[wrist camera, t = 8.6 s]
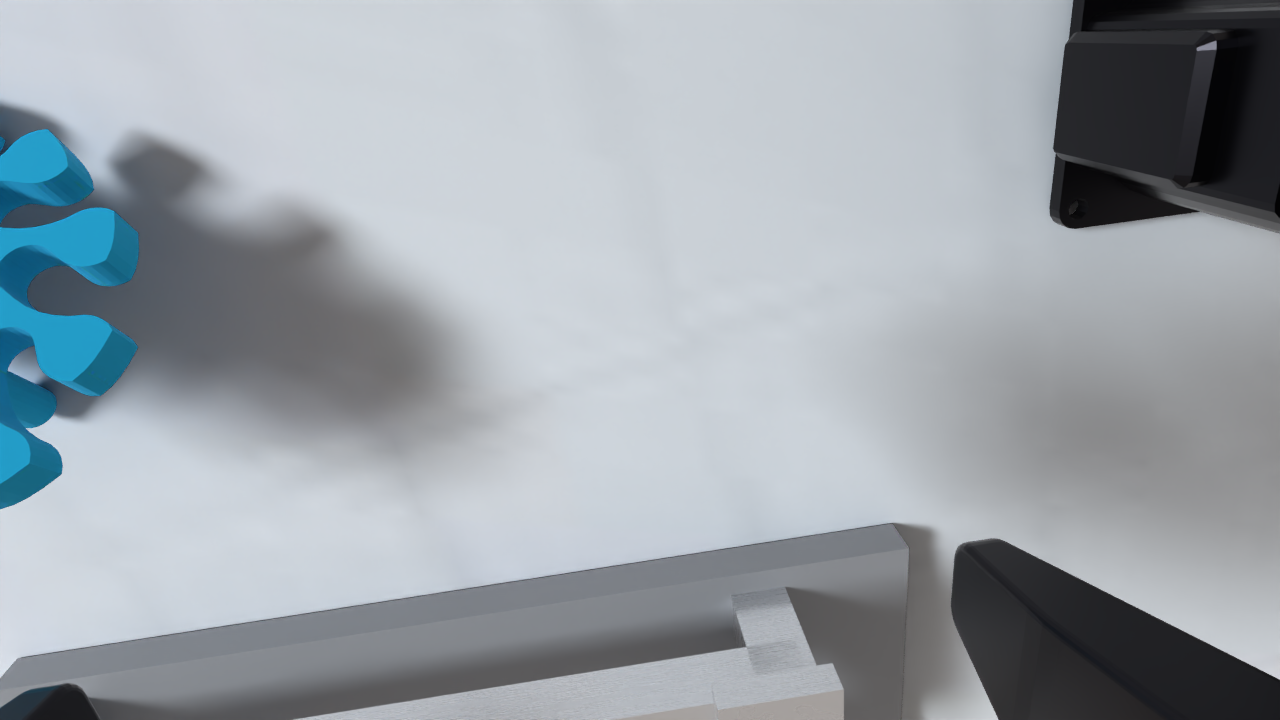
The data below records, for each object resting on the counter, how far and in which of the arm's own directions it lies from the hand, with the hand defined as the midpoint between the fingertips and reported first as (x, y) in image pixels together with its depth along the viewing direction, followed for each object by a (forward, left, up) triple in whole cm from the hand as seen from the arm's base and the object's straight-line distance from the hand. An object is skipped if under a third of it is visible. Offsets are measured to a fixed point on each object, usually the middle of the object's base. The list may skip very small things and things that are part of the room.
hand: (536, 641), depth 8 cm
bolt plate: (+4, +14, -12) cm, 19 cm away
